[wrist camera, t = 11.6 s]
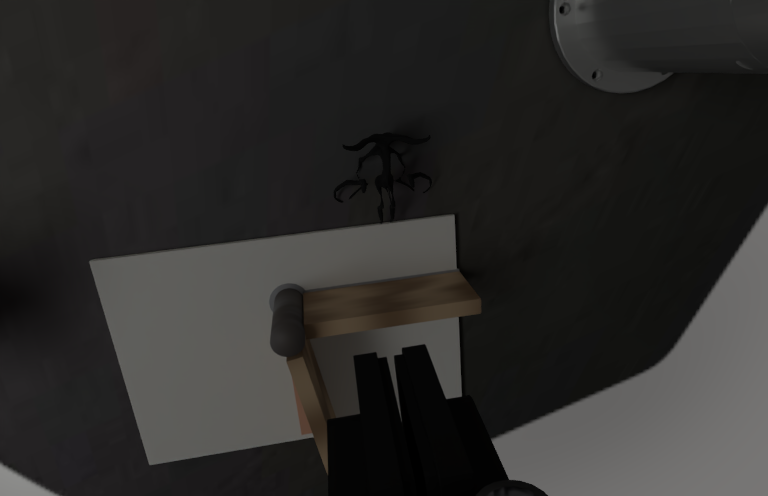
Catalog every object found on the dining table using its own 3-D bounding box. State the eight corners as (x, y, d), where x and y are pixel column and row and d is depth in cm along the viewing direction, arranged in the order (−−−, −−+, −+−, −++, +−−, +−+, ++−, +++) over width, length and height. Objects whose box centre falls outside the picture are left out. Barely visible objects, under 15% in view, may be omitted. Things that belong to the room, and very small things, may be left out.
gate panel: (288, 322, 42) (286, 361, 37) (302, 318, 42) (302, 356, 37) (327, 435, 47) (331, 486, 41) (340, 431, 47) (346, 481, 41)
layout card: (455, 213, 42) (457, 215, 42) (463, 408, 49) (464, 411, 48) (91, 259, 39) (88, 261, 39) (150, 461, 46) (149, 465, 45)
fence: (457, 262, 44) (485, 296, 37) (458, 288, 45) (485, 326, 38) (272, 288, 42) (267, 328, 36) (276, 314, 43) (272, 359, 36)
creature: (428, 208, 43) (428, 115, 39) (445, 240, 39) (447, 140, 35) (335, 219, 42) (325, 125, 38) (342, 253, 38) (331, 152, 34)
